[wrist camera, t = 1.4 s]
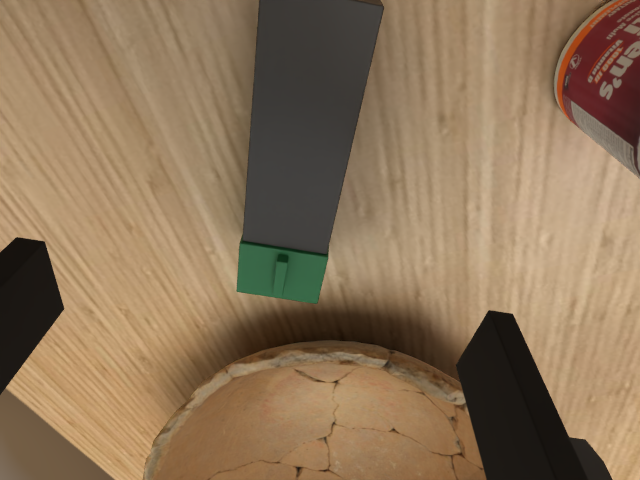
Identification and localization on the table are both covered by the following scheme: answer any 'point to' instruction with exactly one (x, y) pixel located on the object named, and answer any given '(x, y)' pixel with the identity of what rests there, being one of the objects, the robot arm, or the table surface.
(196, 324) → the table surface
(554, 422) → the robot arm
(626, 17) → the pill bottle
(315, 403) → the ceramic bowl
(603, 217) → the table surface
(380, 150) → the table surface
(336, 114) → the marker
